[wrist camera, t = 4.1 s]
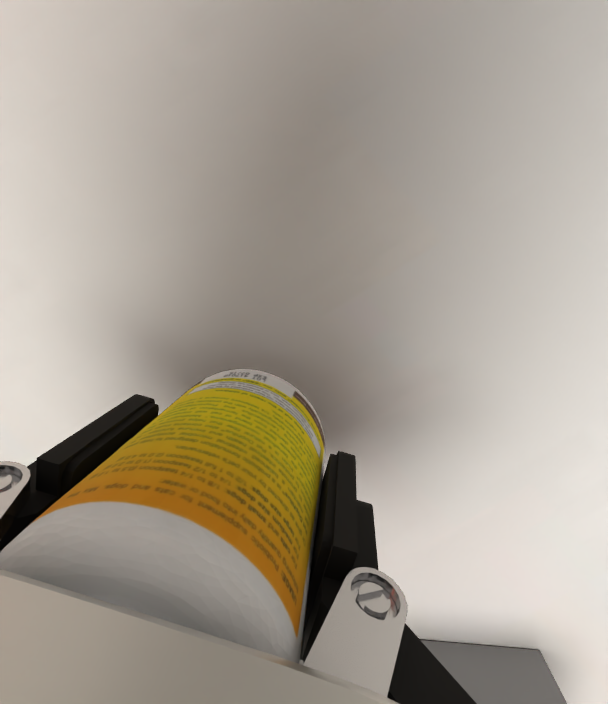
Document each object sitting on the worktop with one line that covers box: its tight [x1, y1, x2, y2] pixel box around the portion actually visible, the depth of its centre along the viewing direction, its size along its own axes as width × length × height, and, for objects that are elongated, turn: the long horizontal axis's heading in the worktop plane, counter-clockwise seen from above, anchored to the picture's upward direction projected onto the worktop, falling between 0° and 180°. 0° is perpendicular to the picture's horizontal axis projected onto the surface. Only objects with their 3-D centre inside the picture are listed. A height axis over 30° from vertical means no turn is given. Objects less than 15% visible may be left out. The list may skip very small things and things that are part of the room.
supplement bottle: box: [0, 369, 326, 664], centre depth 9 cm, size 6×6×10 cm
